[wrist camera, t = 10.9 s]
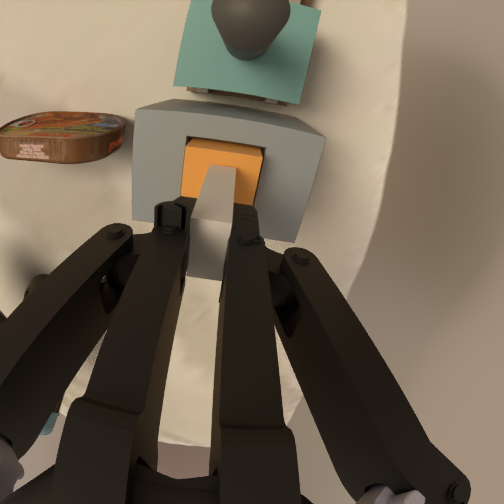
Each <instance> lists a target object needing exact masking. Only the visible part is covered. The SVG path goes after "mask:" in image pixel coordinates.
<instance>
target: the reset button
mask: <svg viewBox="0 0 504 504" xmlns="http://www.w3.org/2000/svg"><path fill="white" fill-rule="evenodd" d="M262 159H263V157H262V153H261V149H260V146H256V145H250V144H244V143H238V142H232V141H225V140H218V139H210V138H202V137H193V139H192V140H191V141H190V142H189V143H188V144H187V145H186V148H185V157H184V166H183V176H182V187H181V196H184V197H192V198H198V195H199V193H200V190H201V187H202V185H203V182H204V179H205V177H206V174H207V171H208V169H209V166H210V164H214V165H221V166H227V167H234V168H236V177H235V190H234V203H239V204H246V205H253V200H254V196H255V191H256V186H257V182H258V177H259V173H260V168H261V163H262Z"/></svg>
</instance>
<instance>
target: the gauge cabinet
mask: <svg viewBox="0 0 504 504" xmlns="http://www.w3.org/2000/svg"><path fill="white" fill-rule="evenodd" d="M193 137H202V138H210V139H218V140H225V141H232V142H238V143H244V144H250V145H256V146H260V149H261V153H262V157H263V159H262V163H261V168H260V173H259V177H258V182H257V186H256V191H255V196H254V200H253V205H252V206H253V207H254V208H255V209H256V210H257V212H258V222H259V231H260V236H261V237H262V238H266V239H273V240H279V241H286V242H292V243H295V239H296V236H297V233H298V230H299V227H300V224H301V221H302V217H303V214H304V211H305V208H306V204H307V201H308V198H309V195H310V191H311V188H312V185H313V181H314V178H315V174H316V171H317V168H318V164H319V161H320V157H321V154H322V150H323V146H324V143H325V139H326V137H324V136H323V135H322V134H320V133H319V132H317V131H316V130H314V129H313V128H312V127H310V126H309V125H307V124H306V123H304V122H303V121H301V120H299V119H298V118H296V117H291V116H287V115H282V114H278V113H273V112H268V111H263V110H258V109H252V108H246V107H240V106H234V105H227V104H219V103H212V102H203V101H193V100H181V99H171V100H167V101H163V102H159V103H155V104H152V105H148V106H145V107H141V108H138V109H136V112H135V123H134V137H133V157H132V220H136V221H144V222H151V223H154V207H155V206H156V205H157V204H159V203H161V202H165V201H174V200H175V199H176V198H178V197H180V196H181V187H182V176H183V166H184V157H185V148H186V145H187V144H188V143H189V142H190V141H191V140H192V139H193Z"/></svg>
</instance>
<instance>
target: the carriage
mask: <svg viewBox="0 0 504 504" xmlns="http://www.w3.org/2000/svg"><path fill="white" fill-rule="evenodd" d="M320 14H321V10H318V9H314V8H311V7H307V6H304V5H300V4H296V3H292V2H289V0H191V3H190V7H189V11H188V15H187V19H186V24H185V28H184V32H183V37H182V42H181V47H180V52H179V57H178V62H177V68H176V74H175V80H174V86H183V87H196V88H206V89H215V90H223V91H230V92H237V93H243V94H249V95H255V96H260V97H265V98H270V99H275V100H280V101H284V102H289V103H293V104H297V105H299V103H300V99H301V95H302V91H303V86H304V82H305V78H306V74H307V70H308V65H309V61H310V57H311V53H312V48H313V44H314V40H315V35H316V31H317V27H318V22H319V18H320Z"/></svg>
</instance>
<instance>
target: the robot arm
mask: <svg viewBox="0 0 504 504" xmlns="http://www.w3.org/2000/svg"><path fill="white" fill-rule="evenodd" d="M235 177H236V168H234V167H227V166H221V165H214V164H210V166H209V169H208V171H207V174H206V177H205V179H204V182H203V185H202V187H201V190H200V193H199V195H198V198H192V197H184V196H180V197H178V198H176V199H175V200H174V201H165V202H161V203H159V204H157V205H156V206H155V207H154V228H153V230H152V232H150V233H146V234H133V229H132V228H131V227H130V226H128V225H126V224H121V223H113V224H110V225H107V226H105V227H103V228H102V229H101V230H99V231H98V232H97V233H96V234H94V235H93V236H92V237H91V238H90V239H88V240H87V241H86V242H85V243H84V244H83V245H81V246H80V247H79V248H78V249H77V250H76V251H75V252H73V253H72V254H71V255H70V256H69V257H68V258H67V259H66V260H64V261H63V262H62V263H61V264H60V265H59V266H58V267H57V268H56V269H55V270H54V271H53V272H51V273H50V274H49V275H38V276H36V277H35V278H33V280H32V281H31V282H30V284H29V285H28V287H27V288H26V291H25V294H24V299H23V302H22V303H21V304H20V305H19V306H18V307H17V308H16V309H15V310H14V311H13V312H12V313H11V315H10V316H9V317H8V318H6V316H5V315H4V314H3V313H2V312H1V311H0V504H313V503H312V502H311V501H309V500H308V499H307V498H306V497H305V496H303V495H301V494H300V483H299V472H298V463H297V453H296V444H295V439H294V435H293V433H292V430H291V429H289V428H288V427H287V426H286V424H285V422H284V417H283V406H282V396H281V386H280V376H279V366H278V356H277V346H276V337H275V328H274V325H275V327H276V330H277V332H278V334H279V337H280V339H281V342H282V344H283V347H284V349H285V351H286V354H287V356H288V359H289V361H290V363H291V366H292V368H293V371H294V373H295V375H296V378H297V380H298V383H299V385H300V387H301V390H302V392H303V395H304V397H305V399H306V402H307V404H308V406H309V409H310V411H311V414H312V416H313V418H314V421H315V423H316V426H317V428H318V430H319V433H320V435H321V437H322V440H323V442H324V444H325V447H326V449H327V452H328V454H329V456H330V459H331V461H332V463H333V466H334V468H335V470H336V472H337V474H338V476H339V478H340V480H341V482H342V484H343V486H344V487H345V489H346V490H347V492H348V493H349V494H350V496H351V497H352V498H353V499H354V500H355V501H356V502H357V503H356V504H467V503H468V501H469V498H470V492H471V487H470V482H469V480H468V479H467V477H466V476H465V475H464V474H463V473H462V472H461V471H460V470H459V469H458V468H457V467H456V466H454V464H453V463H452V462H451V461H450V460H449V459H447V458H446V457H445V456H444V455H443V454H442V453H441V452H440V451H439V450H438V449H437V448H436V447H435V446H434V445H433V444H432V443H431V442H430V440H429V439H428V437H427V435H426V433H425V431H424V429H423V427H422V425H421V424H420V422H419V420H418V418H417V416H416V414H415V413H414V411H413V409H412V407H411V406H410V404H409V402H408V400H407V398H406V397H405V395H404V393H403V391H402V390H401V388H400V386H399V385H398V383H397V381H396V380H395V378H394V376H393V374H392V373H391V371H390V369H389V368H388V366H387V364H386V363H385V361H384V359H383V358H382V356H381V355H380V353H379V351H378V349H377V348H376V346H375V345H374V343H373V341H372V340H371V338H370V337H369V336H368V333H367V332H366V330H365V329H364V327H363V326H362V324H361V322H360V321H359V319H358V318H357V316H356V315H355V313H354V312H353V311H352V309H351V307H350V306H349V304H348V303H347V301H346V300H345V298H344V296H343V295H342V293H341V292H340V291H339V289H338V288H337V286H336V285H335V283H334V282H333V280H332V279H331V277H330V276H329V274H328V273H327V271H326V270H325V268H324V267H323V266H322V264H321V263H320V261H319V260H318V258H317V257H316V256H315V255H314V254H313V253H311V252H310V251H308V250H306V249H304V248H297V247H292V248H288V249H286V250H285V252H284V255H283V254H280V253H278V252H275V251H273V250H270V249H269V248H267V247H266V246H265V241H264V239H263V238H262V237H261V236H260V231H259V222H258V212H257V210H256V209H255V208H254V207H253V206H252V205H246V204H239V203H234V190H235ZM186 271H187V276H189V277H196V278H204V279H211V280H218V281H222V285H221V291H220V297H219V303H220V305H219V317H218V330H217V343H216V358H215V373H214V390H213V408H212V429H211V450H210V461H209V476H205V477H197V478H189V479H174V478H171V477H168V476H166V475H163V474H161V473H159V472H157V463H158V445H157V444H158V433H159V425H160V418H161V411H162V404H163V398H164V391H165V385H166V379H167V373H168V367H169V361H170V356H171V350H172V345H173V340H174V335H175V330H176V325H177V320H178V315H179V310H180V305H181V301H182V296H183V292H184V287H185V276H186ZM104 276H105V277H104ZM103 277H104V278H103ZM106 330H107V332H106V334H105V337H104V340H103V342H102V345H101V348H100V351H99V353H98V356H97V359H96V362H95V365H94V368H93V371H92V374H91V377H90V380H89V383H88V387H87V390H86V392H85V394H84V395H83V396H82V397H79V398H76V399H75V400H74V401H73V402H72V404H71V406H70V408H69V410H68V413H67V417H66V420H65V424H64V428H63V432H62V436H61V440H60V444H59V449H58V454H57V458H56V463H55V464H54V465H53V466H51V467H50V468H48V469H47V470H46V471H44V472H43V473H41V474H40V475H38V476H37V477H36V478H34V479H33V480H31V481H30V482H28V483H27V484H25V485H24V486H22V487H21V488H19V489H17V490H16V491H14V492H13V488H14V484H15V483H16V481H17V480H18V479H21V478H23V476H24V469H23V467H22V465H21V464H20V463H19V461H18V460H19V459H20V458H21V457H22V456H23V455H24V454H25V453H26V452H27V451H28V450H29V449H30V447H31V446H32V445H33V444H34V442H35V441H36V439H37V437H38V436H39V434H40V435H48V434H49V433H51V432H52V430H53V428H54V425H55V422H56V420H57V417H58V416H59V410H60V407H61V403H62V400H63V397H64V394H65V391H66V389H67V388H68V386H69V384H70V383H71V381H72V380H73V378H74V377H75V375H76V374H77V372H78V371H79V369H80V368H81V366H82V365H83V363H84V362H85V360H86V359H87V357H88V356H89V354H90V353H91V351H92V350H93V348H94V347H95V346H96V344H97V343H98V341H99V340H100V338H101V337H102V336H103V334H104V333H105V331H106Z"/></svg>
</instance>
